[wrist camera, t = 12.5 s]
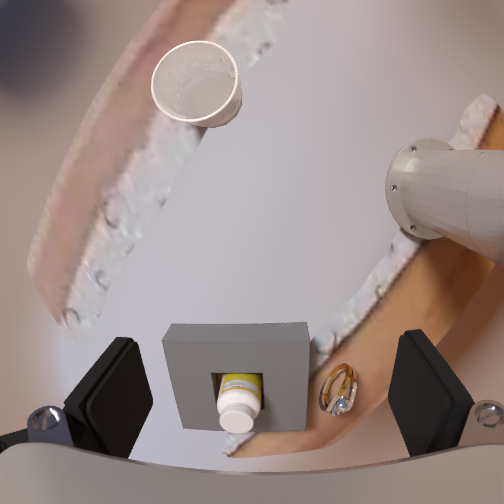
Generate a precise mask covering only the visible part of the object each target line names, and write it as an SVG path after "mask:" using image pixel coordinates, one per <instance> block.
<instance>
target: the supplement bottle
mask: <svg viewBox="0 0 504 504" xmlns="http://www.w3.org/2000/svg"><path fill="white" fill-rule="evenodd" d="M261 386H262V375H261V373H223V377H222V382H221V386H220V391H219V396H218V400H217V409H218V412H219V413H220V425H221V427H222V428H223V429H225V430H226V431H228V432H230V433H235V434H241V433H246V432H248V431H249V430H251V429H252V427H253V424H254V418H256V417H257V415H258V414H259V412H260V407H261Z"/></svg>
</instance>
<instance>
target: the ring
mask: <svg viewBox="0 0 504 504" xmlns="http://www.w3.org/2000/svg"><path fill="white" fill-rule="evenodd" d="M343 370H346V375H345V379H344V381H343V384H342V386H341V388H340V390H339V392H338V394H337V395H336V396H335V397H334V398H333V399H332V401H331V402H330V404H329V403H328V400H327V393H328V389H329V386H330V384H331V382H332V381H333V379H335V378H336V377H337V376H338V374H339V373H340V372H341V371H343ZM349 382H350V392H349V397H348V398H347V396H344V397H342V394H343V392H344V391H345V389H346V388H347V386H348V384H349ZM356 387H357V377H356V371H355V369H354V368H353V367H351V366H350V365H348V364H346V363H343V364H340V365H338V366H337V367H336V368H335V369H334V370H331V371H330V373H329V375H328V377H327V378H326V380H325V382H324V384H323V386H322V388H321V392H320V396H319V405H320V407H321V409H322V410H323V411H325V412H331V413H332V415H333V416H335V413H338V415H340V412H342V413H344V412H345V411H349V410H350V409H351V407H352V405H353V402H354V398H355V394H356ZM337 400H338V401H337ZM345 401H347V403H346V402H345ZM335 402H336V403H335Z"/></svg>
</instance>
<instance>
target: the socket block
mask: <svg viewBox="0 0 504 504" xmlns="http://www.w3.org/2000/svg"><path fill="white" fill-rule="evenodd" d="M162 343H163V348H164V353H165V357H166V362H167V366H168V370H169V375H170V379H171V383H172V387H173V391H174V395H175V399H176V403H177V407H178V411H179V415H180V418H181V422H182V425H183V428H187V429H198V430H215V431H226V430H225V429H223V428H222V427H221V425H220V413H219V412H218V409H217V400H218V396H219V391H220V386H221V382H222V377H223V373H261V375H262V386H261V407H260V412H259V414H258V415H257V417H256V418H254V424H253V427H252V429H251V430H249V431H248V432H280V431H305V428H306V413H307V396H308V377H309V353H310V337H309V332H308V327H307V322H295V323H266V324H171V326H170V328H169V329H168V331H167V333H166V334H165V336H164V337H163V339H162Z"/></svg>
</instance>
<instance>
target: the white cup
mask: <svg viewBox="0 0 504 504" xmlns="http://www.w3.org/2000/svg"><path fill="white" fill-rule="evenodd" d="M151 90H152V96H153V99H154V101H155V103H156V105H157V106H158V108H159V109H160V110H161V111H162V112H163V113H164V114H165V115H167V116H168V117H170V118H172V119H174V120H177V121H181V122H185V123H188V124H191V125H196V126H201V127H211V128H215V127H219V126H222V125H226V124H227V123H229V122H230V121H231V120H232V119H233V118H235V117H236V116H237V114H238V112H239V109H240V108H241V105H242V89H241V82H240V77H239V73H238V68H237V65H236V63H235V61H234V59H233V57H232V56H231V55H230V53H229V52H228V51H227V50H225V49H224V48H223V47H221V46H219V45H217V44H215V43H212V42H207V41H192V42H187V43H184V44H181V45H179V46H177V47H175V48H173V49H172V50H171V51H169V52H168V53H167V54H166V55H165V56H164V57H163V58H162V59H161V60H160V62H159V63H158V65H157V66H156V68H155V71H154V73H153V76H152V82H151Z"/></svg>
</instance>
